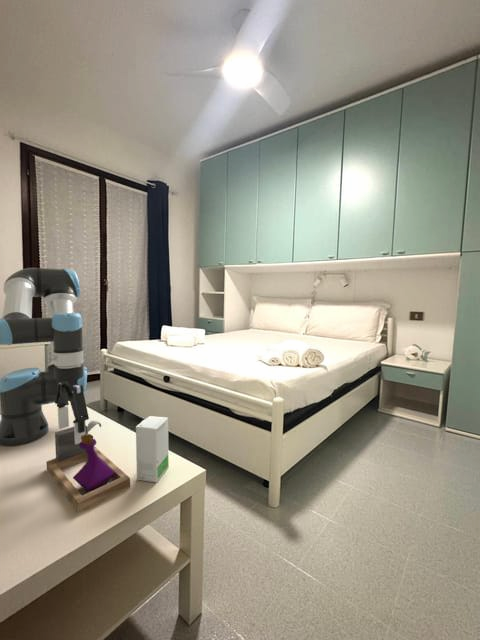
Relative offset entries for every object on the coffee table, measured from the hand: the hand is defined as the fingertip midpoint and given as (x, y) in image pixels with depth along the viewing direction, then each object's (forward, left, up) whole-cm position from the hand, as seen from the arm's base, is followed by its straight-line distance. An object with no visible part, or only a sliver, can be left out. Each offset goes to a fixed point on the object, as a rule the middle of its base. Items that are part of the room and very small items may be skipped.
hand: (71, 434), depth 90 cm
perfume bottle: (+16, 0, -9) cm, 18 cm away
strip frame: (+11, 0, -9) cm, 14 cm away
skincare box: (+22, +14, -9) cm, 27 cm away
